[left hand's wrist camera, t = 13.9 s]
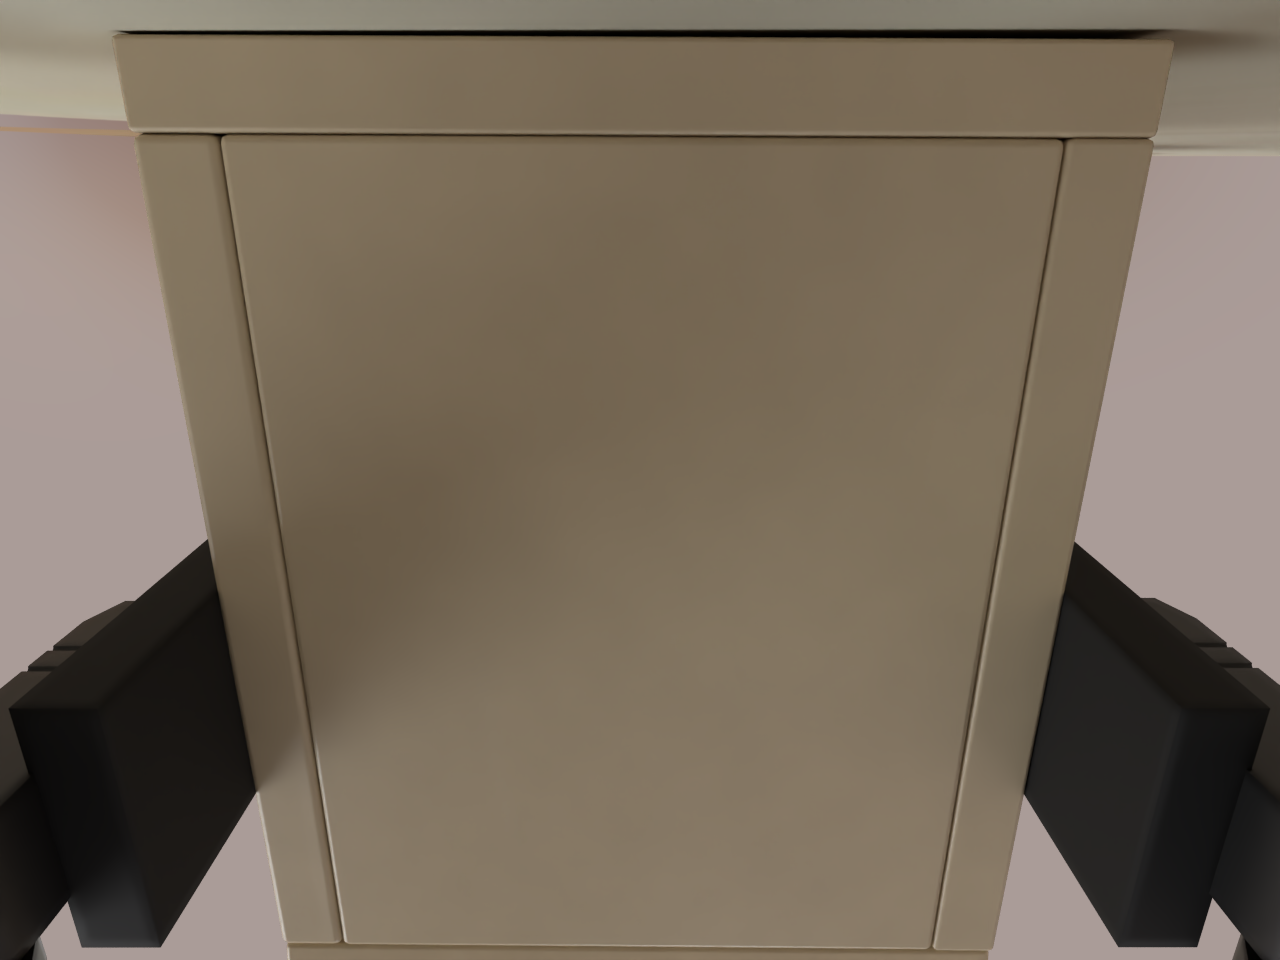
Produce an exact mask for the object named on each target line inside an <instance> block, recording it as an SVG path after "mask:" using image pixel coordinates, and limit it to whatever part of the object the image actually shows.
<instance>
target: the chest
mask: <svg viewBox="0 0 1280 960" xmlns="http://www.w3.org/2000/svg"><path fill="white" fill-rule="evenodd" d="M112 43H113V48H114V53H115V58H116V64H117V69H118V74H119V80H120V85H121V90H122V96H123V101H124V106H125V112H126V117H127V122H128V127H129V128H130V130H131V131H133V132H136V133H143V134H141V135H139V136H137V137H135V141H134V147H135V153H136V158H137V163H138V169H139V174H140V179H141V185H142V190H143V195H144V201H145V206H146V211H147V217H148V222H149V227H150V233H151V238H152V243H153V249H154V254H155V259H156V264H157V270H158V275H159V281H160V286H161V291H162V297H163V302H164V307H165V313H166V318H167V323H168V328H169V334H170V339H171V344H172V350H173V355H174V360H175V366H176V371H177V376H178V382H179V387H180V392H181V398H182V403H183V409H184V414H185V419H186V425H187V430H188V435H189V440H190V446H191V451H192V456H193V462H194V467H195V472H196V478H197V483H198V488H199V494H200V499H201V504H202V510H203V515H204V520H205V526H206V531H207V536H208V542H209V547H210V552H211V558H212V563H213V568H214V574H215V579H216V584H217V590H218V595H219V600H220V606H221V611H222V616H223V622H224V627H225V632H226V638H227V643H228V648H229V654H230V659H231V664H232V670H233V675H234V680H235V686H236V691H237V696H238V701H239V706H240V712H241V717H242V722H243V727H244V732H245V738H246V743H247V748H248V753H249V758H250V764H251V769H252V774H253V779H254V784H255V790H256V798H257V803H258V808H259V814H260V819H261V824H262V830H263V835H264V840H265V846H266V851H267V856H268V861H269V867H270V872H271V878H272V883H273V888H274V893H275V899H276V904H277V909H278V915H279V920H280V925H281V931H282V936H283V939H284V941H286V942H288V943H338V942H340V941H341V940H342V938H343V937H344V941H345V942H346V943H348V944H411V945H523V946H635V947H747V948H859V949H927V948H929V947H930V946H931V944H932V946H933V948H934V949H936V950H991V949H992V948H993V945H994V940H995V935H996V930H997V925H998V920H999V915H1000V910H1001V905H1002V900H1003V895H1004V890H1005V885H1006V880H1007V875H1008V870H1009V865H1010V860H1011V855H1012V850H1013V845H1014V840H1015V835H1016V830H1017V825H1018V820H1019V815H1020V810H1021V805H1022V800H1023V795H1024V790H1025V785H1026V780H1027V775H1028V770H1029V765H1030V760H1031V755H1032V750H1033V745H1034V740H1035V735H1036V730H1037V725H1038V720H1039V715H1040V710H1041V705H1042V700H1043V695H1044V690H1045V685H1046V680H1047V675H1048V670H1049V665H1050V660H1051V655H1052V650H1053V645H1054V640H1055V635H1056V630H1057V626H1058V621H1059V616H1060V611H1061V606H1062V601H1063V596H1064V591H1065V586H1066V581H1067V576H1068V571H1069V566H1070V561H1071V556H1072V551H1073V546H1074V540H1075V536H1076V531H1077V526H1078V521H1079V516H1080V511H1081V505H1082V501H1083V496H1084V491H1085V486H1086V481H1087V476H1088V471H1089V466H1090V461H1091V456H1092V451H1093V446H1094V441H1095V436H1096V431H1097V426H1098V421H1099V416H1100V411H1101V406H1102V401H1103V396H1104V391H1105V386H1106V381H1107V376H1108V371H1109V366H1110V361H1111V356H1112V351H1113V346H1114V341H1115V336H1116V331H1117V326H1118V321H1119V316H1120V311H1121V306H1122V301H1123V296H1124V291H1125V286H1126V281H1127V276H1128V271H1129V266H1130V261H1131V256H1132V251H1133V246H1134V241H1135V236H1136V231H1137V226H1138V221H1139V216H1140V211H1141V206H1142V201H1143V196H1144V191H1145V186H1146V181H1147V176H1148V171H1149V166H1150V161H1151V156H1152V151H1153V141H1151V140H1149V139H1147V138H1151V137H1153V136H1155V134H1156V132H1157V129H1158V124H1159V119H1160V114H1161V109H1162V104H1163V99H1164V94H1165V89H1166V84H1167V79H1168V74H1169V69H1170V64H1171V59H1172V54H1173V49H1174V42H1173V41H1171V40H1169V39H1007V38H806V37H604V36H403V35H202V34H117V35H115V36H113V38H112Z"/></svg>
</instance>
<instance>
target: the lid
mask: <svg viewBox="0 0 1280 960" xmlns="http://www.w3.org/2000/svg"><path fill="white" fill-rule="evenodd" d="M287 957H288V960H988V950H936V949H934V948H933V946H932V944H931V946H930V947H929V948H927V949H859V948H747V947H635V946H523V945H411V944H348V943H346V942H345V941H344V937H343V938H342V940H341V941H340V942H338V943H288V944H287Z"/></svg>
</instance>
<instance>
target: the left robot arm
mask: <svg viewBox="0 0 1280 960" xmlns="http://www.w3.org/2000/svg"><path fill="white" fill-rule="evenodd" d="M255 794H256V790H255V784H254V779H253V774H252V769H251V764H250V758H249V753H248V748H247V743H246V738H245V732H244V727H243V722H242V717H241V712H240V706H239V701H238V696H237V691H236V686H235V680H234V675H233V670H232V664H231V659H230V654H229V648H228V643H227V638H226V632H225V627H224V622H223V616H222V611H221V606H220V600H219V595H218V590H217V584H216V579H215V574H214V568H213V563H212V558H211V552H210V547H209V542H208V539H207V540H206V541H205V542H204V543H203V544H201V545H200V546H199V547H198V548H197V549H196V550H194V551H193V552H192V553H191V554H190V555H188V556H187V557H186V558H185V559H184V560H183V561H181V562H180V563H179V564H178V565H177V566H176V567H174V568H173V569H172V570H171V571H170V572H169V573H167V574H166V575H165V576H164V577H163V578H161V579H160V580H159V581H158V582H157V583H155V584H154V585H153V586H152V587H151V588H150V589H148V590H147V591H146V592H145V593H144V594H143V595H141V596H140V597H139V598H138V599H137V600H136V601H124V602H122V603H120V604H118V605H116V606H114V607H112V608H110V609H108V610H106V611H104V612H102V613H100V614H98V615H96V616H94V617H92V618H90V619H88V620H86V621H84V622H82V623H81V624H80V625H79V626H77V627H76V628H75V629H74V630H72V631H71V632H70V633H69V634H68V635H66V636H65V637H64V638H63V639H61V640H60V641H59V642H58V643H56V644H55V645H54V646H53V651H46V652H45V653H44V654H43V655H42V656H40V657H39V658H38V659H37V660H35V661H34V662H33V663H32V664H30V665H29V666H28V671H27V672H20V673H19V674H18V675H17V676H16V677H14V678H13V679H12V680H11V681H9V682H8V683H7V684H6V685H4V686H3V687H2V688H1V689H0V960H47V957H46V953H45V950H44V947H43V944H42V941H41V938H40V936H41V934H42V933H43V932H44V930H45V929H46V928H47V927H48V925H49V924H50V923H51V922H52V920H53V919H54V918H55V916H56V915H57V914H58V913H59V911H60V910H61V909H62V907H63V906H64V905H65V904H66V902H67V901H68V904H69V907H70V910H71V914H72V917H73V920H74V923H75V926H76V930H77V933H78V936H79V939H80V943H81V946H82V947H161V946H162V944H163V943H164V941H165V939H166V938H167V936H168V934H169V933H170V931H171V930H172V928H173V926H174V925H175V923H176V922H177V920H178V918H179V917H180V915H181V913H182V912H183V910H184V909H185V907H186V905H187V904H188V902H189V900H190V899H191V897H192V896H193V894H194V892H195V891H196V889H197V887H198V886H199V884H200V883H201V881H202V879H203V878H204V876H205V875H206V873H207V871H208V870H209V868H210V866H211V865H212V863H213V862H214V860H215V858H216V857H217V855H218V854H219V852H220V850H221V849H222V847H223V845H224V844H225V842H226V841H227V839H228V837H229V836H230V834H231V832H232V831H233V829H234V828H235V826H236V824H237V823H238V821H239V820H240V818H241V816H242V815H243V813H244V811H245V810H246V808H247V807H248V805H249V803H250V802H251V800H252V799H253V797H254V795H255ZM1024 795H1025V796H1026V798H1027V800H1028V801H1029V803H1030V805H1031V806H1032V808H1033V809H1034V811H1035V813H1036V814H1037V816H1038V817H1039V819H1040V821H1041V822H1042V824H1043V826H1044V827H1045V829H1046V830H1047V832H1048V834H1049V835H1050V837H1051V839H1052V840H1053V842H1054V843H1055V845H1056V847H1057V848H1058V850H1059V852H1060V853H1061V855H1062V856H1063V858H1064V860H1065V861H1066V863H1067V864H1068V866H1069V868H1070V869H1071V871H1072V873H1073V874H1074V876H1075V877H1076V879H1077V881H1078V882H1079V884H1080V885H1081V887H1082V889H1083V890H1084V892H1085V894H1086V895H1087V897H1088V898H1089V900H1090V902H1091V903H1092V905H1093V907H1094V908H1095V910H1096V911H1097V913H1098V915H1099V916H1100V918H1101V920H1102V921H1103V923H1104V924H1105V926H1106V928H1107V929H1108V931H1109V933H1110V934H1111V936H1112V937H1113V939H1114V941H1115V942H1116V944H1117V945H1118V947H1197V946H1198V942H1199V939H1200V936H1201V933H1202V930H1203V926H1204V923H1205V920H1206V916H1207V913H1208V910H1209V907H1210V904H1211V900H1212V898H1213V899H1214V900H1215V901H1216V903H1217V904H1218V905H1219V906H1220V908H1221V909H1222V910H1223V912H1224V913H1225V914H1226V915H1227V916H1228V918H1229V919H1230V920H1231V922H1232V923H1233V924H1234V925H1235V927H1236V928H1237V929H1238V931H1239V932H1240V933H1241V935H1240V938H1239V941H1238V944H1237V947H1236V950H1235V953H1234V956H1233V959H1232V960H1280V685H1279V684H1277V683H1276V682H1275V681H1274V680H1273V679H1271V678H1270V677H1269V676H1268V675H1266V674H1265V673H1264V672H1263V671H1261V670H1260V669H1259V668H1252V663H1251V662H1250V661H1249V660H1248V659H1246V658H1245V657H1244V656H1243V655H1241V654H1240V653H1239V652H1238V651H1236V650H1235V649H1234V648H1233V647H1227V645H1226V642H1225V641H1224V640H1223V639H1221V638H1220V637H1219V636H1218V635H1216V634H1215V633H1214V632H1213V631H1211V630H1210V629H1209V628H1208V627H1206V626H1205V625H1204V624H1203V623H1201V622H1200V621H1199V620H1198V619H1196V618H1194V617H1192V616H1190V615H1188V614H1186V613H1184V612H1182V611H1180V610H1178V609H1176V608H1174V607H1172V606H1170V605H1168V604H1166V603H1164V602H1162V601H1160V600H1158V599H1156V598H1140V597H1139V596H1138V595H1137V594H1136V593H1134V592H1133V591H1132V590H1131V589H1130V588H1128V587H1127V586H1126V585H1125V584H1124V583H1123V582H1121V581H1120V580H1119V579H1118V578H1117V577H1115V576H1114V575H1113V574H1112V573H1111V572H1110V571H1108V570H1107V569H1106V568H1105V567H1104V566H1103V565H1101V564H1100V563H1099V562H1098V561H1097V560H1096V559H1094V558H1093V557H1092V556H1091V555H1090V554H1088V553H1087V552H1086V551H1085V550H1084V549H1083V548H1081V547H1080V546H1079V545H1078V544H1077V543H1076V542H1074V546H1073V551H1072V556H1071V561H1070V566H1069V571H1068V576H1067V581H1066V586H1065V591H1064V596H1063V601H1062V606H1061V611H1060V616H1059V621H1058V626H1057V630H1056V635H1055V640H1054V645H1053V650H1052V655H1051V660H1050V665H1049V670H1048V675H1047V680H1046V685H1045V690H1044V695H1043V700H1042V705H1041V710H1040V715H1039V720H1038V725H1037V730H1036V735H1035V740H1034V745H1033V750H1032V755H1031V760H1030V765H1029V770H1028V775H1027V780H1026V785H1025V790H1024Z"/></svg>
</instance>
